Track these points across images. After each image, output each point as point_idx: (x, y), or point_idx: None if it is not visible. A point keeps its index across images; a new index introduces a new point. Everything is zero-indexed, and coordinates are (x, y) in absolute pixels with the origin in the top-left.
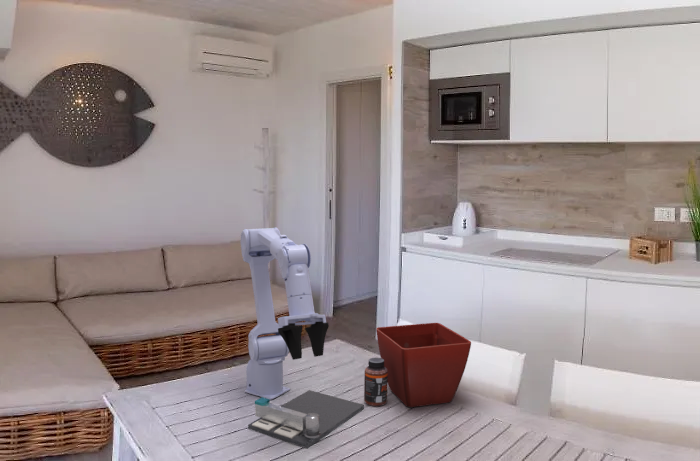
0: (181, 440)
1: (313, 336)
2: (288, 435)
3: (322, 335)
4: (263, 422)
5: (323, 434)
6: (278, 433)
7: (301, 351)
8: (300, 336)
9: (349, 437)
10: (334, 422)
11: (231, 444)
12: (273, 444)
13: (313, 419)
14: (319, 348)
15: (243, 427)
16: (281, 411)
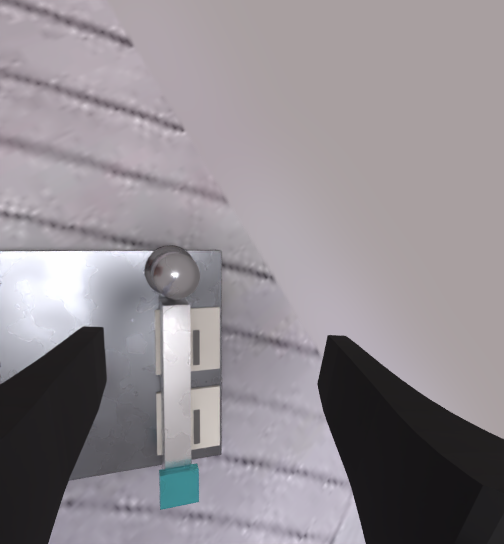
0: (340, 512)
1: (40, 508)
2: (216, 320)
3: (17, 412)
4: (196, 428)
5: (140, 251)
6: (219, 351)
7: (347, 352)
8: (417, 421)
9: (94, 183)
10: (57, 262)
11: (298, 414)
12: (247, 336)
13: (193, 260)
14: (87, 367)
15: (219, 463)
16: (190, 390)
